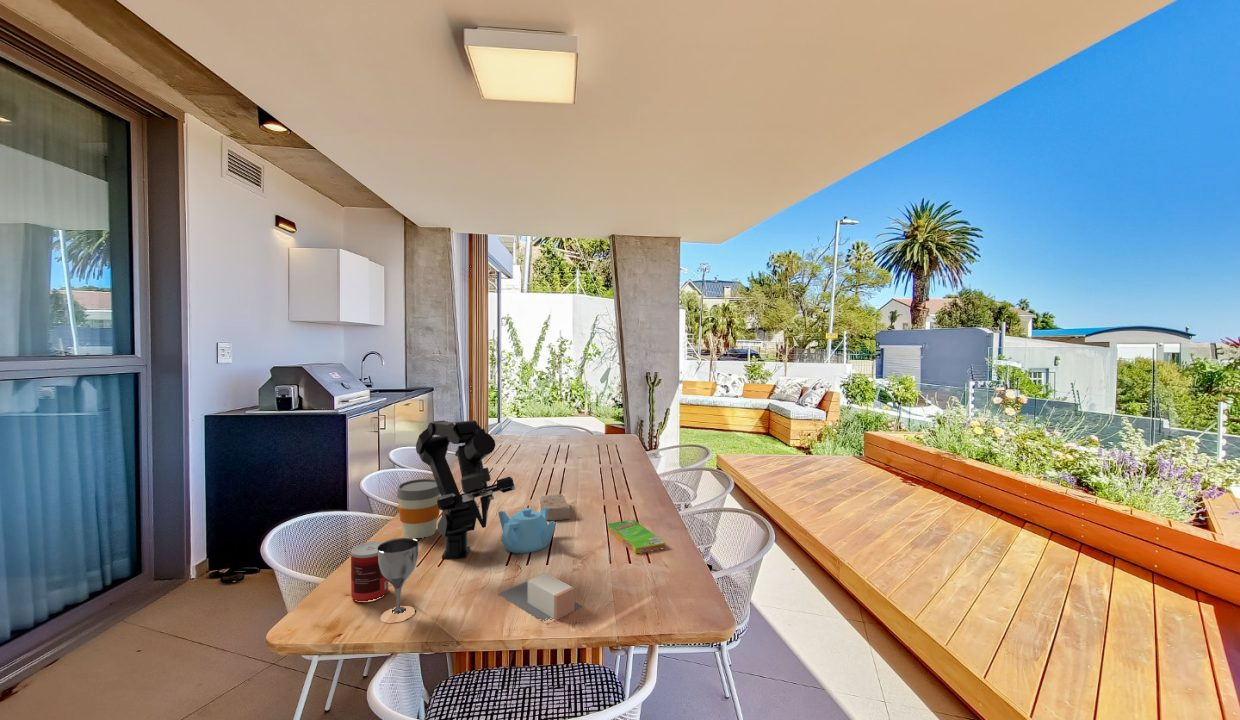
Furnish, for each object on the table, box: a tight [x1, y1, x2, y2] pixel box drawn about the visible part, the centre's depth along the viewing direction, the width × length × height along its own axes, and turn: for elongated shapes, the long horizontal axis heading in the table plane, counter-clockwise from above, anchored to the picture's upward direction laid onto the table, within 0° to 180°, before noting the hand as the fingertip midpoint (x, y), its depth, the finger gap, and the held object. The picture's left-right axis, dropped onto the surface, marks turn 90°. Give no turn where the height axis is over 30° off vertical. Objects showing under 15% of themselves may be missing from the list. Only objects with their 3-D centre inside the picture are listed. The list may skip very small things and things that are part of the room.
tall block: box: [527, 572, 576, 621], centre depth 107 cm, size 5×5×10 cm
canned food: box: [350, 540, 389, 601], centre depth 113 cm, size 8×8×11 cm
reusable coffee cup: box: [396, 478, 441, 539], centre depth 149 cm, size 13×13×15 cm
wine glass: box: [377, 537, 419, 614], centre depth 105 cm, size 8×8×15 cm
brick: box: [539, 493, 571, 522], centre depth 170 cm, size 17×8×5 cm, turn 16°
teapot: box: [498, 507, 557, 555], centre depth 142 cm, size 15×15×11 cm
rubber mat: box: [498, 580, 584, 622], centre depth 110 cm, size 18×10×1 cm, turn 47°
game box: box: [606, 519, 666, 555], centre depth 148 cm, size 3×10×20 cm
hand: (484, 527), depth 122 cm, fingers closed
